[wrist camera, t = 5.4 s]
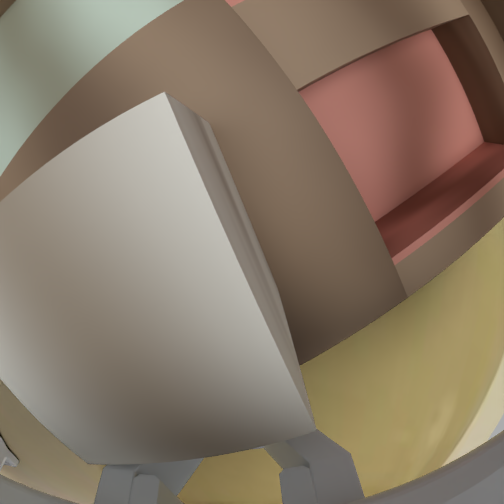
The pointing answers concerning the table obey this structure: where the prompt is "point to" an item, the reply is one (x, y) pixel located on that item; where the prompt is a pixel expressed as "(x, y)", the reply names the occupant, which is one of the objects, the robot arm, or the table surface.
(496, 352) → the table surface
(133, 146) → the gray block
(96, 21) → the box
